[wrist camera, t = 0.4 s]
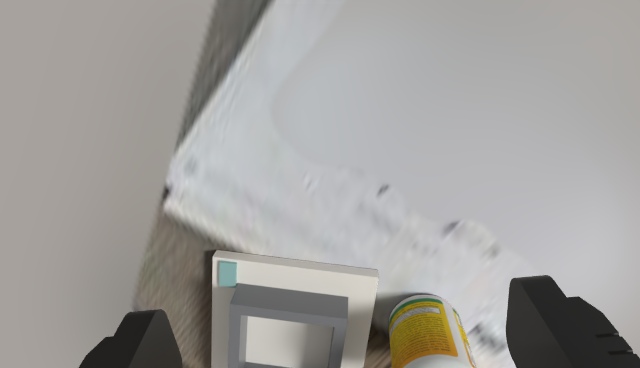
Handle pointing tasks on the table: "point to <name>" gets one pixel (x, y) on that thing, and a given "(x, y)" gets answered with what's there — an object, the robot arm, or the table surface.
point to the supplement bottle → (428, 335)
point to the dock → (289, 312)
